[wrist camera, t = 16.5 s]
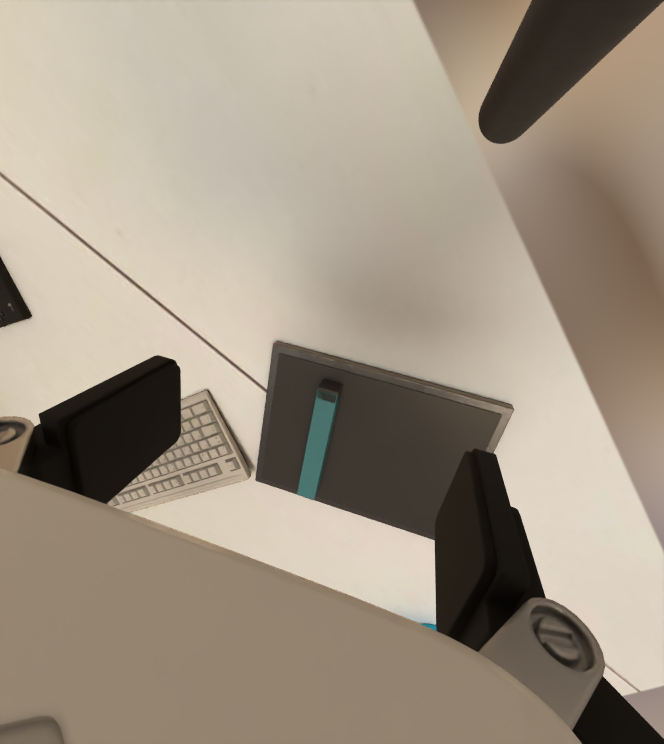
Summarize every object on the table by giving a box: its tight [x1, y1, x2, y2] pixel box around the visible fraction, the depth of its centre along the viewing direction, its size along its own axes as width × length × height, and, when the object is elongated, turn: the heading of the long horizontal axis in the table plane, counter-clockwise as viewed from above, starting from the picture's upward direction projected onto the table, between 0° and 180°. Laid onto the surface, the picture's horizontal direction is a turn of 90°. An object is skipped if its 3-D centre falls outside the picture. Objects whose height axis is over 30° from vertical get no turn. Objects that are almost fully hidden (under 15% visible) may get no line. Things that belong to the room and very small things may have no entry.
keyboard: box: [107, 390, 251, 513], centre depth 41 cm, size 29×10×2 cm, turn 116°
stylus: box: [297, 379, 342, 500], centre depth 33 cm, size 13×2×2 cm, turn 169°
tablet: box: [255, 341, 514, 540], centre depth 33 cm, size 16×21×1 cm
